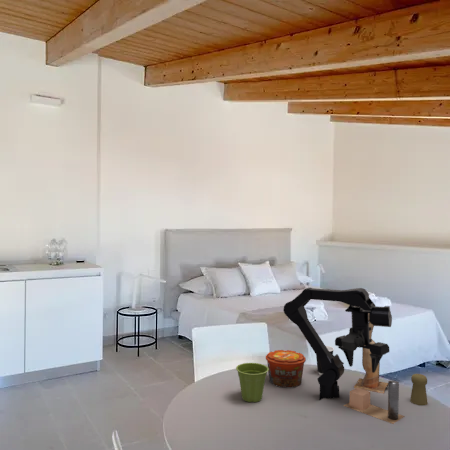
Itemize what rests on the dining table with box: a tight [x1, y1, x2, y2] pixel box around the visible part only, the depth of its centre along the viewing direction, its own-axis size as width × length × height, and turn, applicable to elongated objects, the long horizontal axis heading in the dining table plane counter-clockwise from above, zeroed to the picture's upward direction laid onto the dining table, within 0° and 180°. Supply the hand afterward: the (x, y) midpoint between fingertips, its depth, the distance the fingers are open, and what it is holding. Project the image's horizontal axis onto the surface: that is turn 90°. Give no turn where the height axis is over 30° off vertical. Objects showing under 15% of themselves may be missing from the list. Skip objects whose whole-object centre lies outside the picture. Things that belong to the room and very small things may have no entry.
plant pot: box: [235, 362, 269, 403], centre depth 161 cm, size 12×12×11 cm
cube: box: [348, 388, 371, 410], centre depth 152 cm, size 5×5×5 cm
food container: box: [265, 349, 307, 388], centre depth 178 cm, size 16×16×11 cm
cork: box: [409, 373, 428, 406], centre depth 156 cm, size 6×6×11 cm
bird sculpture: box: [353, 313, 388, 394], centre depth 170 cm, size 11×12×32 cm
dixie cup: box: [315, 345, 335, 376], centre depth 187 cm, size 8×8×11 cm
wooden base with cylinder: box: [342, 379, 405, 425], centre depth 149 cm, size 18×8×13 cm, turn 42°
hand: (362, 369), depth 155 cm, fingers open, 9 cm apart
